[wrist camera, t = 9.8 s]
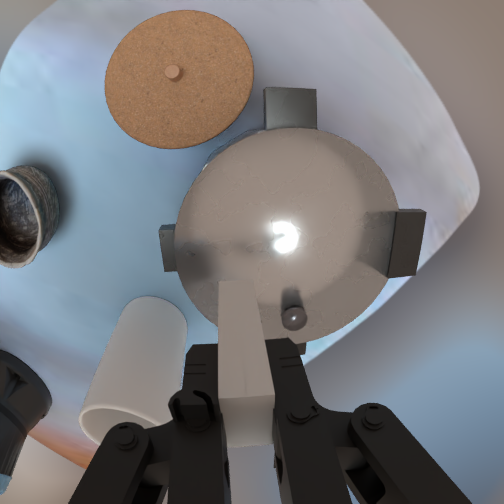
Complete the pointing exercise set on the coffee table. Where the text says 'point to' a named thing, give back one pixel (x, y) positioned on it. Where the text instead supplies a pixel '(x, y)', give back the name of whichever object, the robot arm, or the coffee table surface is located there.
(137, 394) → the cup
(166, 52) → the lidded jar
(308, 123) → the pot
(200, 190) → the lid
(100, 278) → the coffee table surface
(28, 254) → the mug
